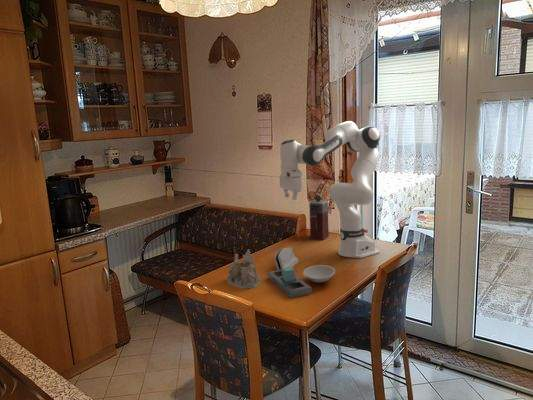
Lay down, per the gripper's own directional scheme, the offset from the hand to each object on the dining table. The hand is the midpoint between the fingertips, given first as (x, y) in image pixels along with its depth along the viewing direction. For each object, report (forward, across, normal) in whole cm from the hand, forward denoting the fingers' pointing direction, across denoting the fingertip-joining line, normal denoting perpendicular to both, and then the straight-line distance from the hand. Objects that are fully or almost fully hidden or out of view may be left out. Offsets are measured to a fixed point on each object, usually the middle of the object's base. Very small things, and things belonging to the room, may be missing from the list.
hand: (290, 198), depth 215 cm
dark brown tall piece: (+34, -31, +32) cm, 56 cm away
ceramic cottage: (+34, +16, -34) cm, 50 cm away
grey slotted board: (+34, +30, -16) cm, 48 cm away
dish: (+34, +32, -2) cm, 47 cm away
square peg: (+34, +30, -16) cm, 48 cm away
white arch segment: (+34, +5, -6) cm, 35 cm away
